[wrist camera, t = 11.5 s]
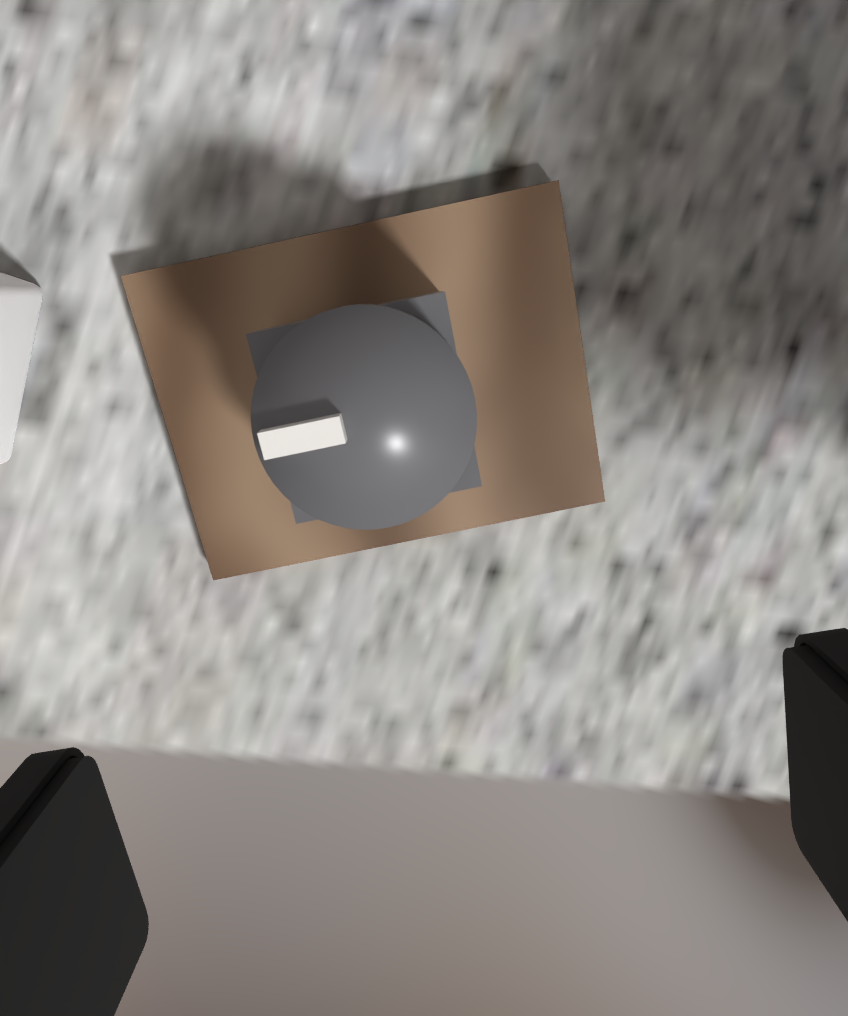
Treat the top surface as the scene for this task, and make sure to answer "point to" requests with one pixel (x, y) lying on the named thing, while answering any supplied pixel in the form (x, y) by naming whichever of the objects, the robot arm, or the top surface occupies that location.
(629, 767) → the top surface
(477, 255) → the board
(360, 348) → the knob
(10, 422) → the medicine bottle
